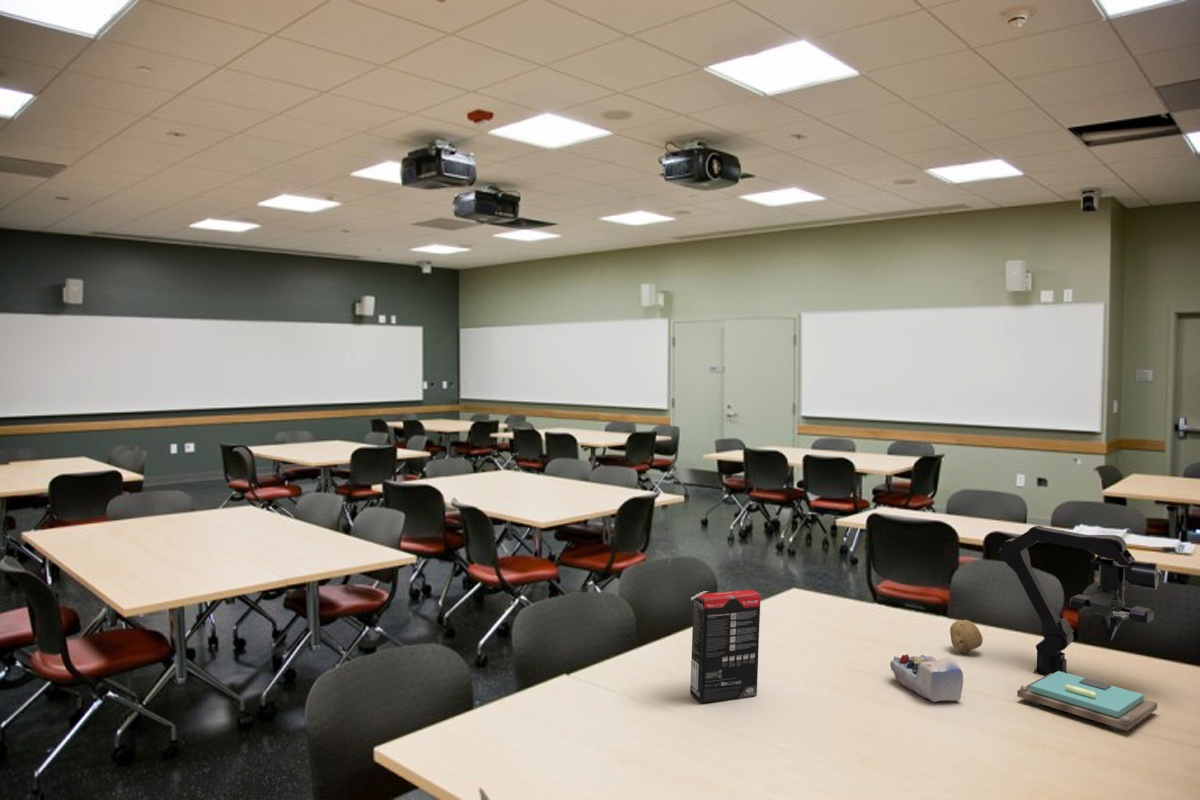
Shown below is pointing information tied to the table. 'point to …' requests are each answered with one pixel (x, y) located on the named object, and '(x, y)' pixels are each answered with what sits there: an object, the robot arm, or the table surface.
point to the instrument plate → (1098, 704)
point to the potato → (965, 636)
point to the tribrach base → (1111, 722)
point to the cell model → (929, 676)
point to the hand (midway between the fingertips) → (1109, 639)
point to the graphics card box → (725, 645)
